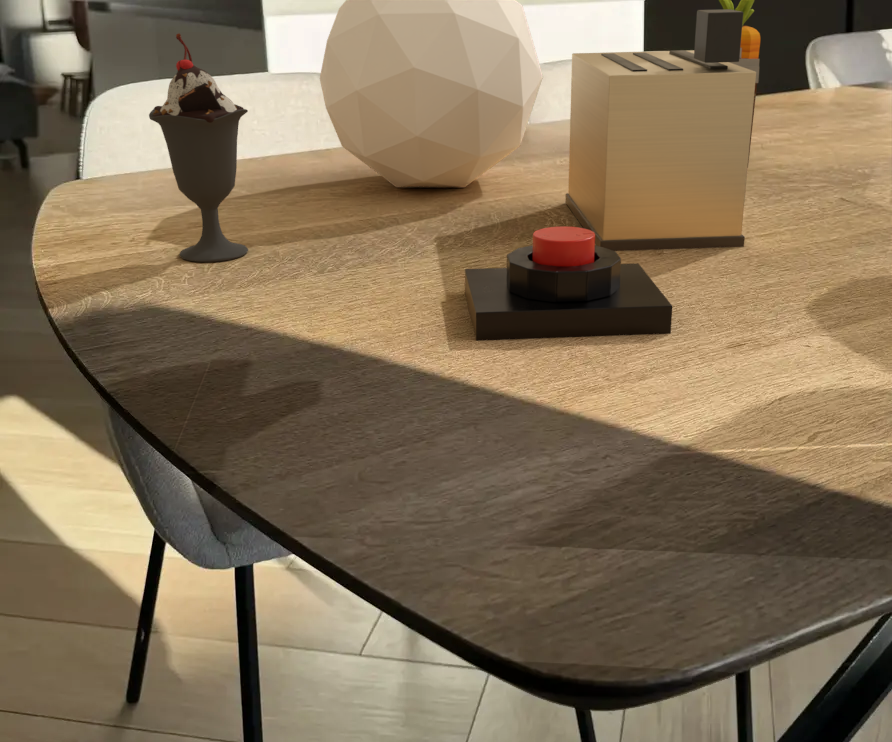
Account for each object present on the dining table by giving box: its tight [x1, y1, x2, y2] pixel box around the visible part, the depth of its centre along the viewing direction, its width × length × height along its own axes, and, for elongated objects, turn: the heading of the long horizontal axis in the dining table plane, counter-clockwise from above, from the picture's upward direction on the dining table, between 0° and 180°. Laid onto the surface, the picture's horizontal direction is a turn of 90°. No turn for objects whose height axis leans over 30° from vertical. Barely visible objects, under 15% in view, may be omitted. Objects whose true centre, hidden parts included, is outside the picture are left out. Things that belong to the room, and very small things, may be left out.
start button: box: [532, 226, 595, 266], centre depth 65 cm, size 4×4×2 cm
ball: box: [319, 0, 544, 189], centre depth 99 cm, size 19×20×20 cm
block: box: [464, 244, 673, 342], centre depth 66 cm, size 11×9×4 cm
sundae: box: [148, 32, 249, 263], centre depth 78 cm, size 7×7×15 cm
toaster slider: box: [694, 9, 743, 63], centre depth 77 cm, size 2×3×3 cm
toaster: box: [564, 49, 756, 252], centre depth 85 cm, size 10×16×12 cm, turn 3°
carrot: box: [718, 0, 761, 59], centre depth 121 cm, size 5×5×15 cm
